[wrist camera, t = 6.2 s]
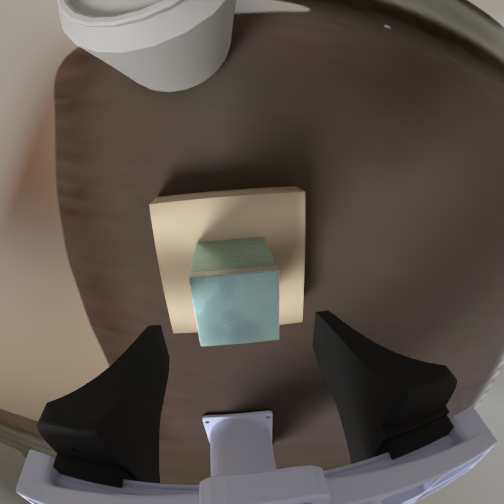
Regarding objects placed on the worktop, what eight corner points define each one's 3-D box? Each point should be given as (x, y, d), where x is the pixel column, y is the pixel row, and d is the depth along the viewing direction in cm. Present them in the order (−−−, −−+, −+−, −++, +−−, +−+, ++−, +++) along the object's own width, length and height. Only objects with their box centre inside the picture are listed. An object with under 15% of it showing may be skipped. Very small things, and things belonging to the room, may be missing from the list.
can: (136, 9, 14) (74, -77, 3) (236, 7, 15) (253, -99, 4) (120, 96, 17) (18, 60, 5) (224, 96, 18) (228, 34, 6)
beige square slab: (293, 302, 25) (302, 321, 22) (177, 312, 24) (173, 333, 21) (294, 185, 21) (305, 192, 18) (158, 195, 20) (149, 204, 17)
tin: (266, 295, 21) (279, 339, 16) (204, 300, 20) (200, 346, 16) (265, 236, 19) (279, 270, 14) (196, 241, 19) (188, 277, 14)
